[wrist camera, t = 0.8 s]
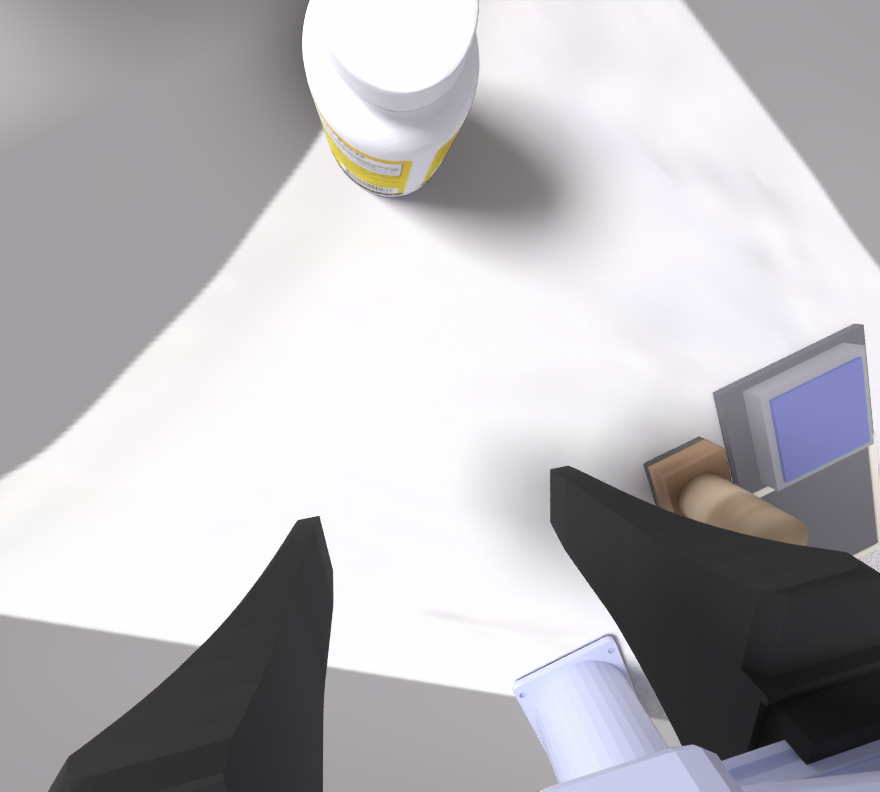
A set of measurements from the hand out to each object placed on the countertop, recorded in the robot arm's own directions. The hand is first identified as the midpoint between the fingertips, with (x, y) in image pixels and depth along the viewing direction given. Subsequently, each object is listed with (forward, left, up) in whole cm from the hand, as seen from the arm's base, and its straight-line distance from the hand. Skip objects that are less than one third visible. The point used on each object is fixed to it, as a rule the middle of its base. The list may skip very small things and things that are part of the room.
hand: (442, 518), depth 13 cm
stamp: (-12, -14, -11) cm, 21 cm away
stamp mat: (-16, -22, -11) cm, 30 cm away
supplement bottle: (+13, -5, -11) cm, 17 cm away
